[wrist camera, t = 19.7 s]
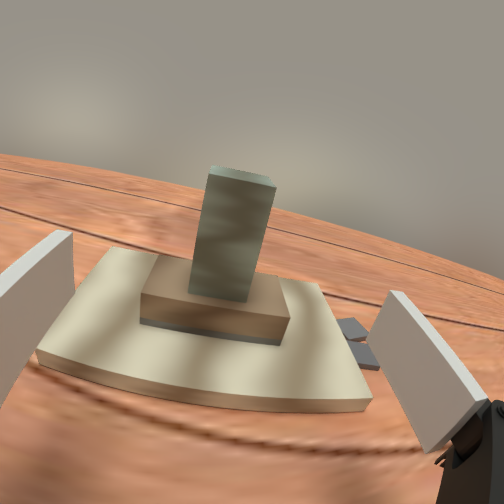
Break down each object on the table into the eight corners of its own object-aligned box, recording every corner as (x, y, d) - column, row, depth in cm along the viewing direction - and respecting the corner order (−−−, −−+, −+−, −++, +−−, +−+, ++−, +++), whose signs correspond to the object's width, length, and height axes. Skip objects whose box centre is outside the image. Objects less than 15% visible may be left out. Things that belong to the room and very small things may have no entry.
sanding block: (139, 323, 19) (153, 166, 15) (156, 281, 25) (173, 156, 21) (279, 346, 21) (328, 203, 17) (269, 301, 26) (304, 183, 22)
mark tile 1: (344, 370, 22) (349, 361, 22) (339, 348, 25) (344, 339, 25) (375, 374, 22) (380, 366, 22) (368, 353, 25) (372, 344, 25)
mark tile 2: (344, 347, 25) (349, 339, 25) (327, 328, 28) (331, 320, 27) (367, 343, 27) (371, 335, 26) (350, 325, 29) (353, 317, 29)
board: (39, 363, 14) (34, 347, 14) (111, 259, 29) (112, 246, 28) (363, 411, 18) (373, 397, 17) (312, 295, 32) (317, 283, 32)
